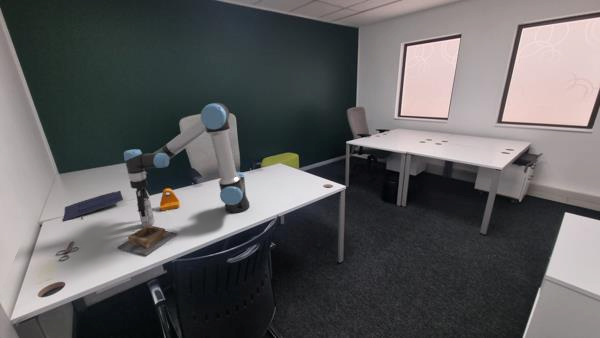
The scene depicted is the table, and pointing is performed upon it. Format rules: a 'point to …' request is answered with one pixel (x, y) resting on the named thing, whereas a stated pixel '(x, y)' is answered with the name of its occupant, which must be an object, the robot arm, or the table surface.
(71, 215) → the navy blue flat panel
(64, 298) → the table surface
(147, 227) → the can holder
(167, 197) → the bracket
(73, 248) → the grey scissors
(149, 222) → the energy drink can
